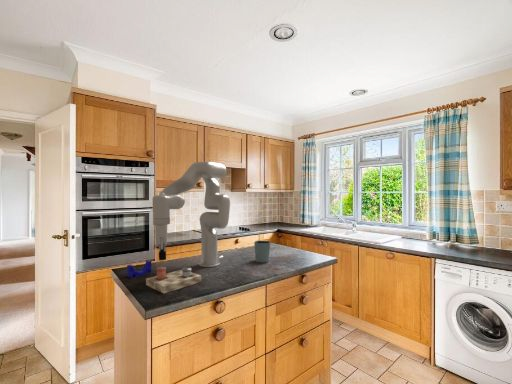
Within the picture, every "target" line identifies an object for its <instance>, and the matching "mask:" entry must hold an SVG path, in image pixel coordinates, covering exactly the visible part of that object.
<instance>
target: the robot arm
mask: <svg viewBox="0 0 512 384" xmlns="http://www.w3.org/2000/svg"><path fill="white" fill-rule="evenodd" d="M227 172H228V171H227V167H226V166H225V165H224V164H223V163H220V162H213V161H196V162H193V163H192V164H191V165H190V166H189V167H188V168H187V170H186V171H185V172H184V173H183V175H182V176H181V177H180V178H178V179H176V180H174V181H173V182H171V183H169V184H168V185H166V187H164V188H163V189H162V190H161V192H160V193H159V194H158V195H157V194H156V195H154V196H152V225H153V226H155V231H154V232H155V233H154V234H155V247H156V248H157V247H158V261H166V260H167V250H166V246H167V243H168V225H170V224H171V219H170V218H171V217H170V216H171V214H170V211H171V210H180V209H181V208H183V207H184V205H185V204H186V200H185V198H184V196H182V195H181V193H182V194H183V193H185V192H188V191H191V190H193V189H194V188H195V187H196V185H197V184H198V183H199V181H200V180H201V179H203V181H204V184H205V193H204V203H203V205H204V208H205V209H207V210H212V211H204V212H202V213H201V214H200V216H199V226H200V230H201V231H200V232H201V233H200V234H201V238H200V239H201V244H200V245H201V246H200V247H201V253H200V254H201V260H200V261H199V262H198V266H199V267H202V268H215V267H218V266H220V264H221V261H220V260H223V259H224V256H223V255H218V236H219V235H218V232H217V230H218V229H221V230H222V229H226V228H227V227H228V224H229V219H230V211H231V210H230V209H231V200H230V197H229V195H227V194H225V193H220V192H221V185H220V182H219V181H218V180H217V179H223V178H225V176H226V175H227ZM216 229H217V230H216Z"/></svg>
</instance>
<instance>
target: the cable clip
mask: <svg viewBox="0 0 512 384" xmlns="http://www.w3.org/2000/svg"><path fill="white" fill-rule="evenodd" d="M149 273H152V261H151V260H146V261H145V264H144V266H143V267H142V269H140V270H138V271H136V270H135V269H134V266H133V265H132V264H127V265H126V277H128V278H129V279H134V278H138V277H141V276H143V275H145V274H149Z"/></svg>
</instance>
